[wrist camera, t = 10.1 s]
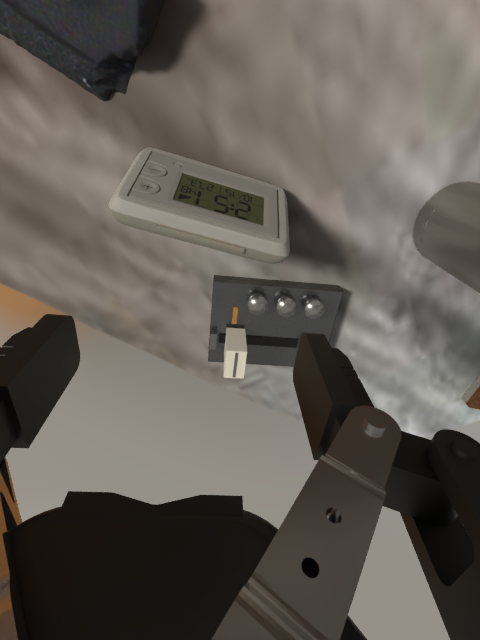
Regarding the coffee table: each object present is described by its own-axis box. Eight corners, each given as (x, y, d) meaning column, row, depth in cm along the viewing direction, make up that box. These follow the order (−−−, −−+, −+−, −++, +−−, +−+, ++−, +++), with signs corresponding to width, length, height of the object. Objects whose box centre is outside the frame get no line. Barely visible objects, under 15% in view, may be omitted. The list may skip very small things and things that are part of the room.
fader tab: (245, 328, 42) (247, 352, 37) (241, 353, 44) (243, 379, 39) (226, 327, 41) (226, 351, 37) (224, 352, 43) (223, 378, 39)
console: (338, 285, 42) (347, 297, 39) (317, 359, 48) (323, 375, 45) (214, 275, 40) (213, 287, 37) (208, 352, 46) (207, 368, 43)
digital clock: (293, 194, 36) (316, 216, 27) (254, 263, 40) (262, 303, 31) (154, 114, 32) (124, 108, 23) (125, 200, 36) (90, 224, 26)
